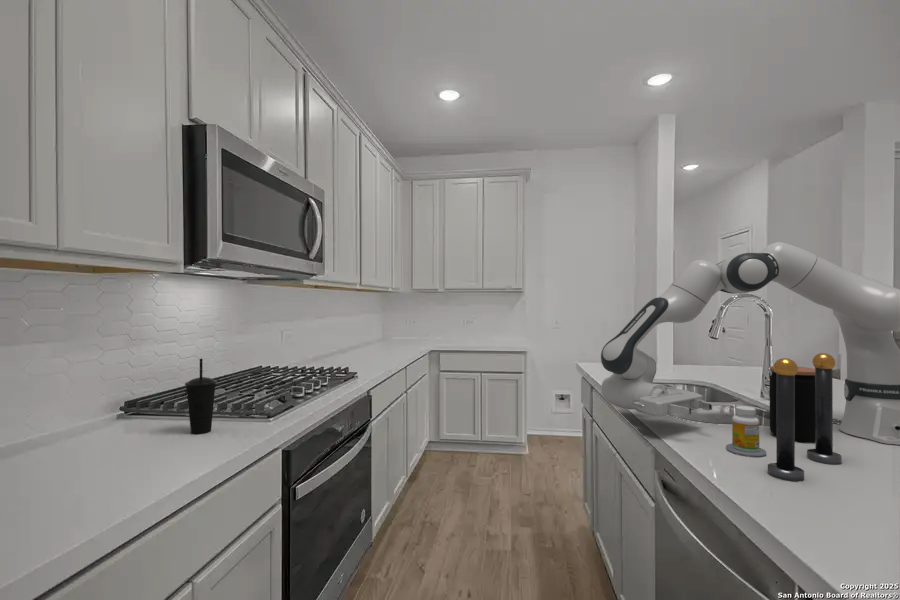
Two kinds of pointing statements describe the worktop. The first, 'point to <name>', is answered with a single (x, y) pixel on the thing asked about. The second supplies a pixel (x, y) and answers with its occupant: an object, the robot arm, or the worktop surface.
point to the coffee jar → (797, 404)
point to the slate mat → (744, 453)
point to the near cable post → (785, 423)
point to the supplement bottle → (745, 429)
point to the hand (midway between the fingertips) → (700, 409)
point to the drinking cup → (200, 403)
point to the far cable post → (824, 412)
